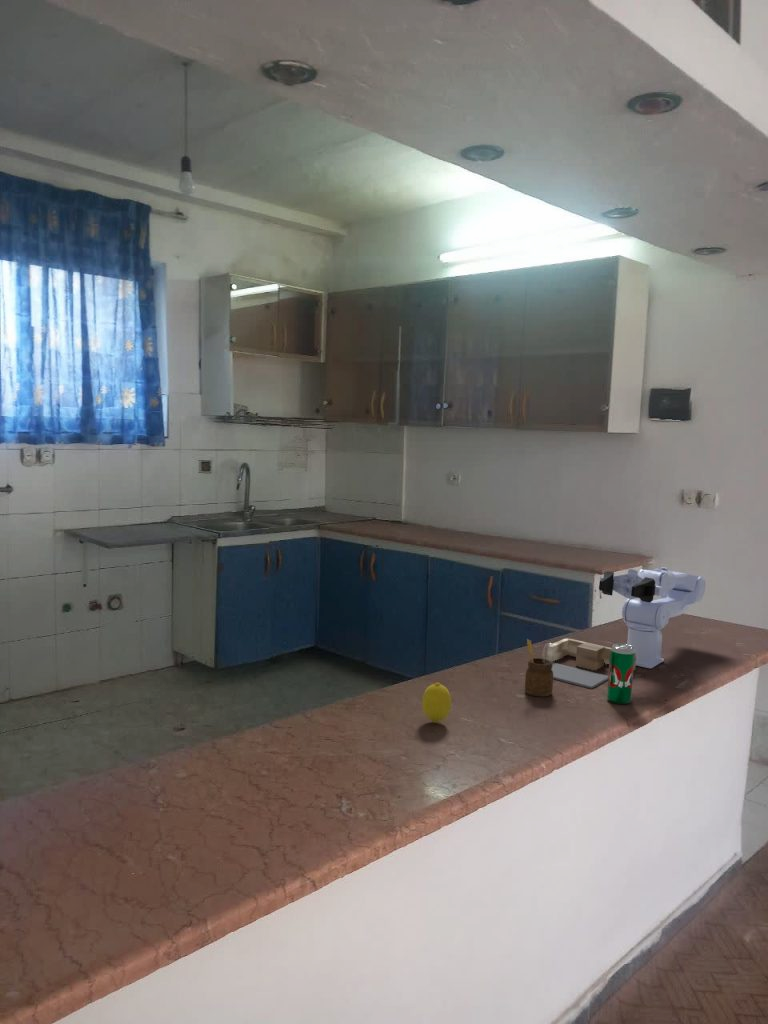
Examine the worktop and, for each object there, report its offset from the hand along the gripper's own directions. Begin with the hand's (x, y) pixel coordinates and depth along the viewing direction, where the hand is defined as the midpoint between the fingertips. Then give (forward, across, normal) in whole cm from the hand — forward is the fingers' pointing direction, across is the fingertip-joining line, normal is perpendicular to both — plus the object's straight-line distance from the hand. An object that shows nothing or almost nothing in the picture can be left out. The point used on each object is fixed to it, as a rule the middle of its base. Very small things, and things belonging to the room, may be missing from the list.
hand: (616, 588), depth 177 cm
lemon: (+48, -14, +25) cm, 56 cm away
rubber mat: (+2, -8, +22) cm, 23 cm away
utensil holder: (+18, -8, +23) cm, 31 cm away
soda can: (+10, +7, +22) cm, 26 cm away
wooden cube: (-8, -8, +21) cm, 24 cm away
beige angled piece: (-8, -8, +21) cm, 24 cm away
